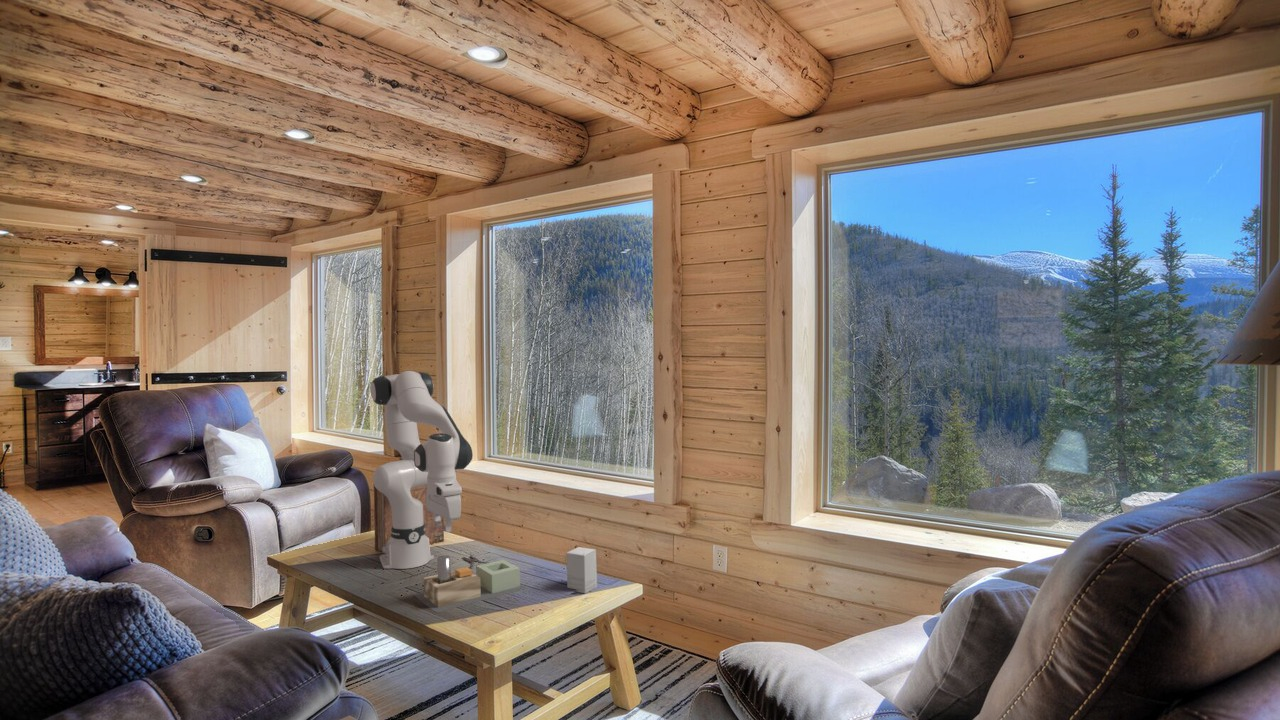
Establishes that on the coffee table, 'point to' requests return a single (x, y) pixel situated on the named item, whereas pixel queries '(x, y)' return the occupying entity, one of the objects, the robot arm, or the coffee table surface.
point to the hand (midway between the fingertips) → (443, 529)
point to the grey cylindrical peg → (443, 569)
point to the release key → (463, 572)
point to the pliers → (473, 561)
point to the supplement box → (581, 569)
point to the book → (385, 518)
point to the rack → (498, 576)
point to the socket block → (451, 589)
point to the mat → (484, 595)
